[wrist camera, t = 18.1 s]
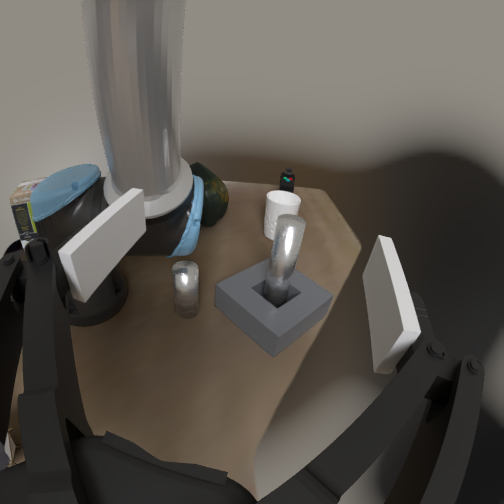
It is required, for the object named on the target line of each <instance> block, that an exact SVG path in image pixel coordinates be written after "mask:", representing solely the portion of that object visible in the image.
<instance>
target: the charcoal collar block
mask: <svg viewBox="0 0 504 504" xmlns="http://www.w3.org/2000/svg"><path fill="white" fill-rule="evenodd" d="M269 262H270V258H268V259H266V260H264V261H262V262H260V263H258V264H256V265H254V266H252V267H250V268H248V269H246V270H244V271H242V272H240V273H238V274H235V275H233V276H231V277H229V278H227V279H225V280H223V281H221V282H219V283H217V284H216V292H215V306H216V307H217V308H218V309H219V310H220V311H221V312H222V313H223V314H224V315H225V316H227V317H228V318H229V319H230V320H231V321H232V322H233V323H234V324H235V325H237V326H238V327H239V328H240V329H241V330H242V331H243V332H244V333H246V334H247V335H248V336H249V337H250V338H251V339H252V340H254V341H255V342H256V343H257V344H258V345H259V346H260V347H262V348H263V349H264V350H265V351H266V352H267V353H269V354H270V355H271V356H272V357H274V356H276V355H277V354H278V353H280V352H281V351H282V350H284V349H285V348H286V347H287V346H289V345H290V344H291V343H293V342H294V341H295V340H296V339H298V338H299V337H300V336H301V335H303V334H304V333H305V332H306V331H308V330H309V329H310V328H311V327H312V326H314V325H315V324H316V323H317V322H319V321H320V320H321V319H322V318H323V317H325V316H326V314H327V311H328V309H329V306H330V304H331V301H332V299H333V296H334V295H333V294H331V293H330V292H328V291H327V290H326V289H324V288H323V287H321V286H320V285H318V284H317V283H315V282H314V281H312V280H311V279H309V278H308V277H306V276H305V275H303V274H302V273H300V272H299V271H297V270H296V269H295V270H294V274H293V278H292V282H291V286H290V290H289V294H288V298H287V301H286V303H285V304H284V305H282V306H281V307H279V308H278V309H277V308H276V307H275V306H273V305H272V304H271V303H269V302H268V301H267V300H266V299H264V298H263V294H264V289H265V284H266V278H267V273H268V268H269Z"/></svg>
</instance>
